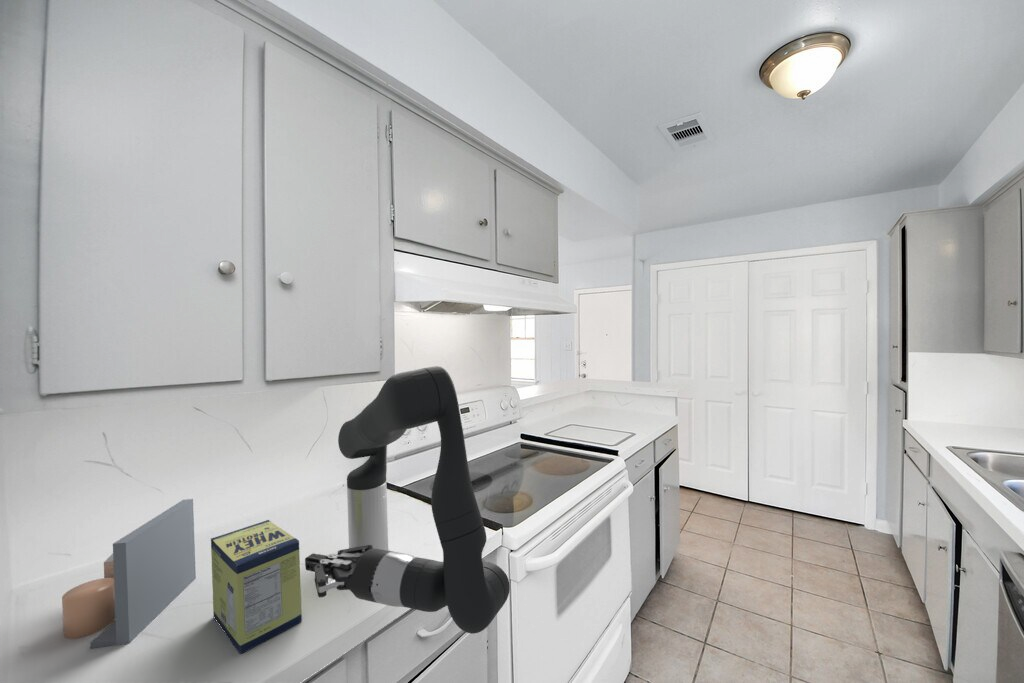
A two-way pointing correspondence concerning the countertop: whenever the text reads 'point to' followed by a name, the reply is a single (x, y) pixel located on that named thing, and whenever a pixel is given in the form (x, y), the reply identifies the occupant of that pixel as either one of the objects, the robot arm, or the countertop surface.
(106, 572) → the tea tin
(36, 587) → the countertop surface
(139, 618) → the display board
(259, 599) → the protein box
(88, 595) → the tan rounded cylinder
